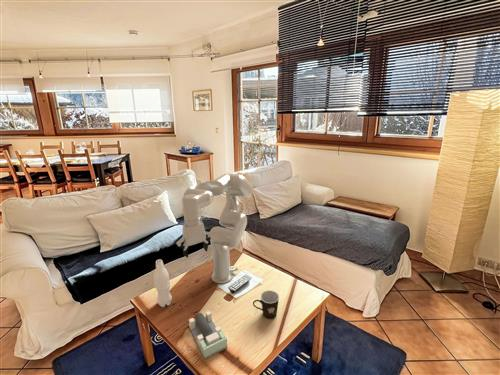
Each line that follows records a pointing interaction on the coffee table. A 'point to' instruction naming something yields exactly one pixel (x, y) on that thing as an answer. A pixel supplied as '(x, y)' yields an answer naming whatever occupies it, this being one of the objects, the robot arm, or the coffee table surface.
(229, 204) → the robot arm
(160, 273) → the water bottle
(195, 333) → the board
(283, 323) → the coffee table surface
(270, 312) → the coffee mug
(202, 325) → the grey rounded bar
